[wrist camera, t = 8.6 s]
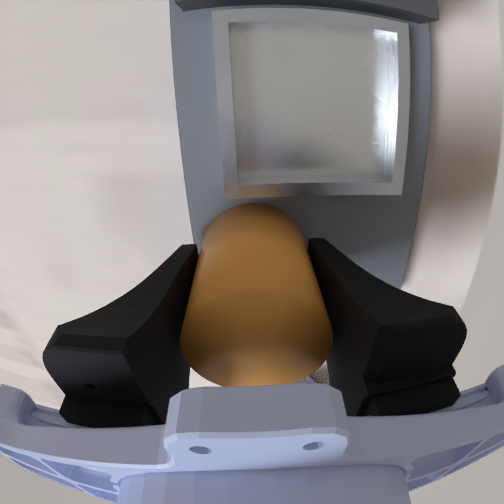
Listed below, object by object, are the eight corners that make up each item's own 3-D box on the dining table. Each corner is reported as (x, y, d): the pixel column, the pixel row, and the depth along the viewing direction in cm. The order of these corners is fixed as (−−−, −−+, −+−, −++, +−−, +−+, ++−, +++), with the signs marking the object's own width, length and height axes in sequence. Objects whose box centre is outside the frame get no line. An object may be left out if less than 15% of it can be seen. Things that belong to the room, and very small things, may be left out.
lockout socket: (391, 186, 12) (401, 195, 11) (226, 190, 12) (225, 199, 11) (396, 26, 8) (408, 23, 7) (214, 17, 8) (211, 11, 7)
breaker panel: (385, 290, 17) (404, 326, 14) (210, 302, 17) (204, 342, 14) (399, -63, 6) (428, -83, 4) (176, -75, 7) (161, -105, 4)
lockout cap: (322, 258, 14) (356, 353, 9) (244, 305, 15) (243, 403, 10) (264, 182, 12) (277, 258, 7) (180, 242, 13) (149, 337, 8)
